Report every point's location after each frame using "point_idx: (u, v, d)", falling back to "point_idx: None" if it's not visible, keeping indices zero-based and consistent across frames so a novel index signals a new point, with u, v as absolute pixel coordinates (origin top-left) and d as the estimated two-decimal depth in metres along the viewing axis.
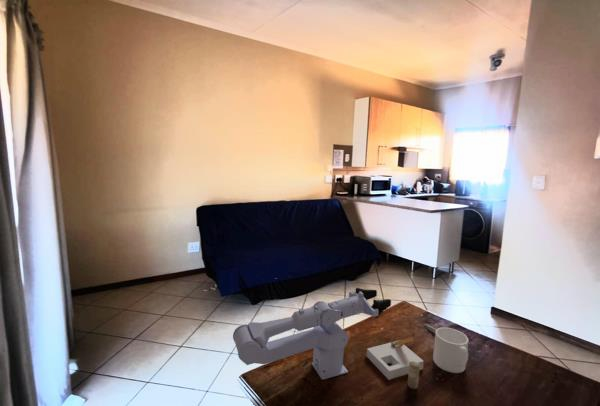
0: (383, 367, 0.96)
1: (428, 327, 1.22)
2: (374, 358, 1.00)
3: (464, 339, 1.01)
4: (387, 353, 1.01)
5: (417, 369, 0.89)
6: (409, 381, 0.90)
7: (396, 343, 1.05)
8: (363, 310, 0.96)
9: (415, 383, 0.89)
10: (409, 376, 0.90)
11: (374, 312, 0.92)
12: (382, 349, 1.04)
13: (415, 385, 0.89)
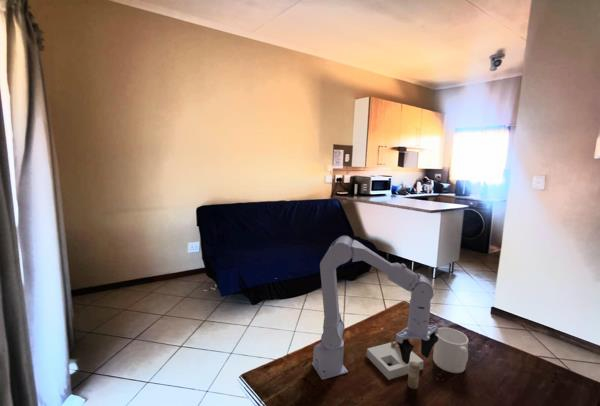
0: (383, 367, 0.96)
1: None
2: (374, 358, 1.00)
3: (464, 339, 1.01)
4: (387, 353, 1.01)
5: (417, 369, 0.89)
6: (409, 381, 0.90)
7: (396, 343, 1.05)
8: (408, 328, 0.88)
9: (415, 383, 0.89)
10: (409, 376, 0.90)
11: (399, 337, 0.85)
12: (382, 349, 1.04)
13: (415, 385, 0.89)
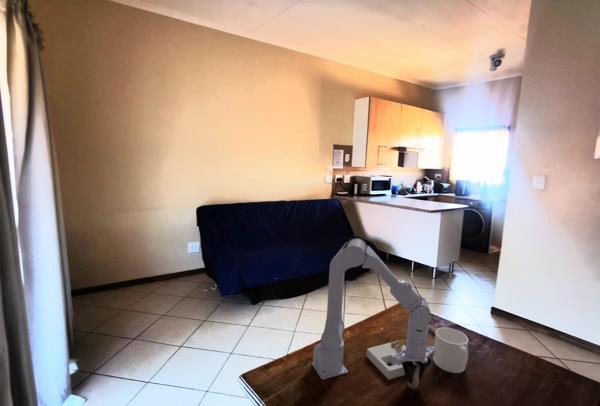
0: (383, 367, 0.96)
1: (428, 327, 1.22)
2: (374, 358, 1.00)
3: (464, 339, 1.01)
4: (387, 353, 1.01)
5: (417, 369, 0.89)
6: None
7: (396, 343, 1.05)
8: (406, 350, 0.89)
9: (415, 383, 0.89)
10: None
11: (397, 359, 0.86)
12: (382, 349, 1.04)
13: (415, 385, 0.89)
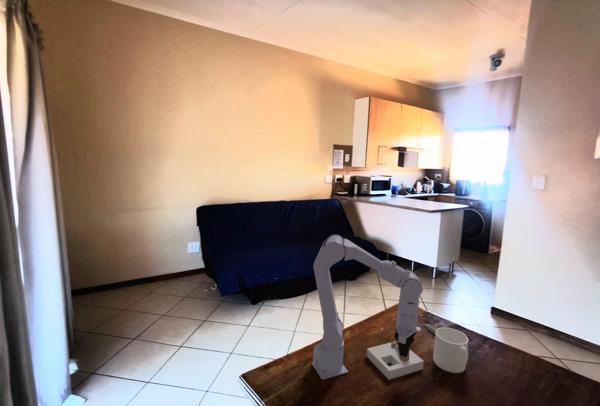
0: (383, 367, 0.96)
1: (428, 327, 1.22)
2: (374, 358, 1.00)
3: (464, 339, 1.01)
4: (387, 353, 1.01)
5: None
6: None
7: (396, 343, 1.05)
8: (402, 326, 0.90)
9: None
10: None
11: (403, 338, 0.85)
12: (382, 349, 1.04)
13: (408, 357, 0.92)
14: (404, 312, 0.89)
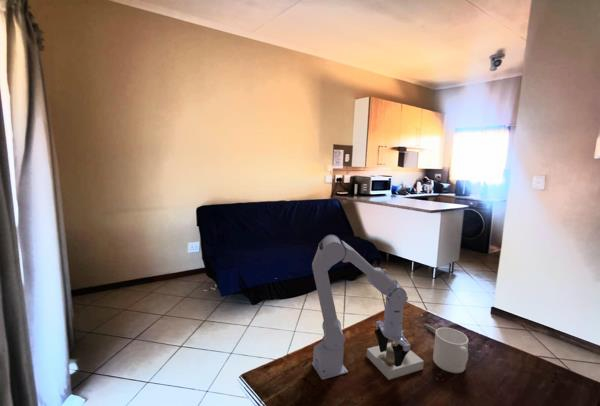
0: (383, 367, 0.96)
1: (428, 327, 1.22)
2: (374, 358, 1.00)
3: (464, 339, 1.01)
4: None
5: None
6: None
7: (396, 343, 1.05)
8: (395, 335, 0.93)
9: None
10: (393, 362, 0.96)
11: (409, 345, 0.90)
12: None
13: None
14: (391, 320, 0.93)
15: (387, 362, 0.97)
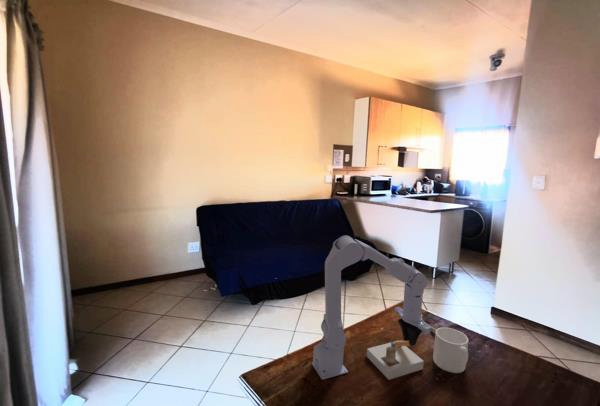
0: (383, 367, 0.96)
1: None
2: (374, 358, 1.00)
3: (464, 339, 1.01)
4: None
5: None
6: None
7: (396, 343, 1.05)
8: (415, 319, 0.96)
9: None
10: (393, 362, 0.96)
11: (429, 329, 0.93)
12: (382, 349, 1.04)
13: None
14: (412, 305, 0.96)
15: (387, 362, 0.97)
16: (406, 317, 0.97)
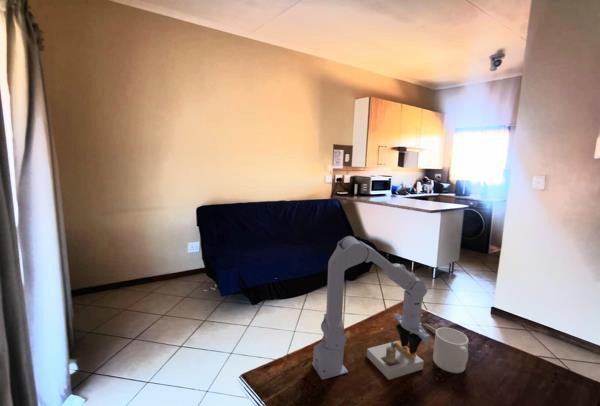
0: (383, 367, 0.96)
1: (427, 327, 1.22)
2: (374, 358, 1.00)
3: (464, 339, 1.01)
4: None
5: None
6: None
7: (396, 345, 1.05)
8: (414, 327, 0.97)
9: None
10: (393, 362, 0.96)
11: (428, 336, 0.93)
12: (382, 349, 1.04)
13: None
14: (411, 313, 0.96)
15: (387, 362, 0.97)
16: (405, 324, 0.98)
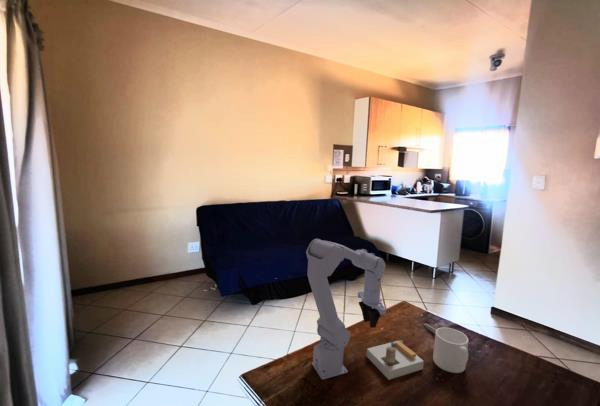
0: (383, 367, 0.96)
1: (427, 327, 1.22)
2: (374, 358, 1.00)
3: (464, 339, 1.01)
4: None
5: None
6: None
7: (396, 345, 1.05)
8: (373, 302, 1.04)
9: None
10: (393, 362, 0.96)
11: (385, 310, 1.00)
12: (382, 349, 1.04)
13: None
14: (375, 289, 1.03)
15: (387, 362, 0.97)
16: (366, 300, 1.05)
